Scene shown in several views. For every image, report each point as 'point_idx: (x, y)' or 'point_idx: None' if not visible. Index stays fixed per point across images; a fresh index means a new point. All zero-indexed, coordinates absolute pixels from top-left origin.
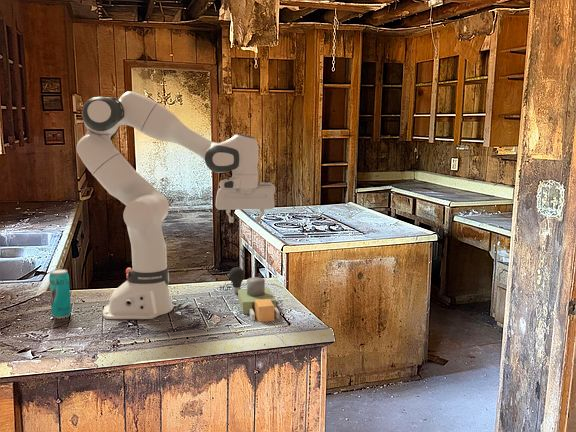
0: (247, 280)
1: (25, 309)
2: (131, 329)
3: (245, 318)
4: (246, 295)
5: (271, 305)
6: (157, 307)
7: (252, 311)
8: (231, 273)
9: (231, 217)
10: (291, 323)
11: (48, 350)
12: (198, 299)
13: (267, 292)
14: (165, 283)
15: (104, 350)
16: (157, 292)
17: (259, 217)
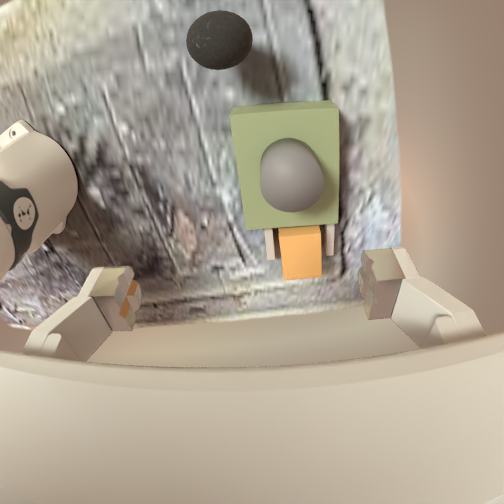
0: (261, 190)
1: None
2: (57, 267)
3: (253, 238)
4: (257, 176)
5: (315, 274)
6: (56, 225)
7: (270, 243)
8: (196, 60)
9: (109, 323)
10: (348, 270)
11: (17, 310)
12: (114, 96)
13: (327, 155)
14: (35, 226)
15: None
16: (39, 240)
17: (392, 316)
